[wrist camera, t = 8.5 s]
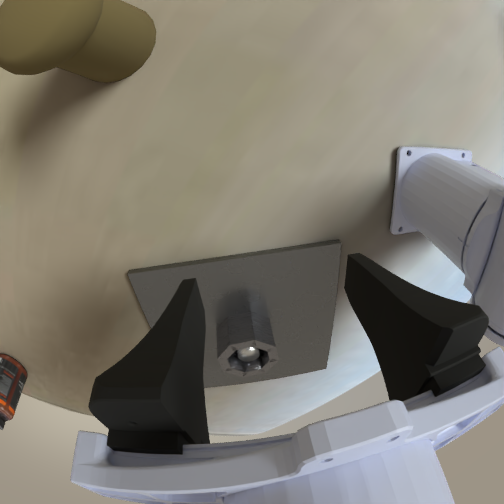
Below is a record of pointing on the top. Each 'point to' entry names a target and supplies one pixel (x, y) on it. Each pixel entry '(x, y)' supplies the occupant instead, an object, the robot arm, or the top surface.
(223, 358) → the ring
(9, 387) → the supplement bottle
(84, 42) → the cork
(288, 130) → the top surface
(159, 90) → the top surface
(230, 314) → the stand
